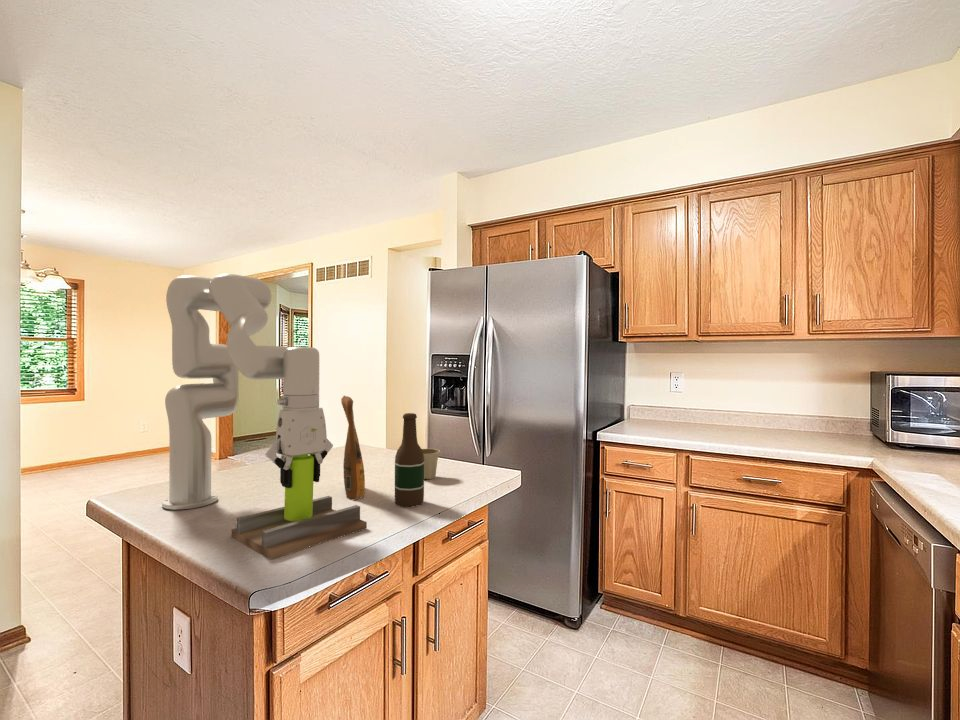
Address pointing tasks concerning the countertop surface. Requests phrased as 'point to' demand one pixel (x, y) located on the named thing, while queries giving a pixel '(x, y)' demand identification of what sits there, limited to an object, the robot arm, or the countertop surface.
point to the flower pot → (430, 462)
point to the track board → (296, 528)
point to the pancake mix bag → (352, 456)
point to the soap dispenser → (300, 489)
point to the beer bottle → (409, 467)
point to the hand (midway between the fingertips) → (300, 483)
